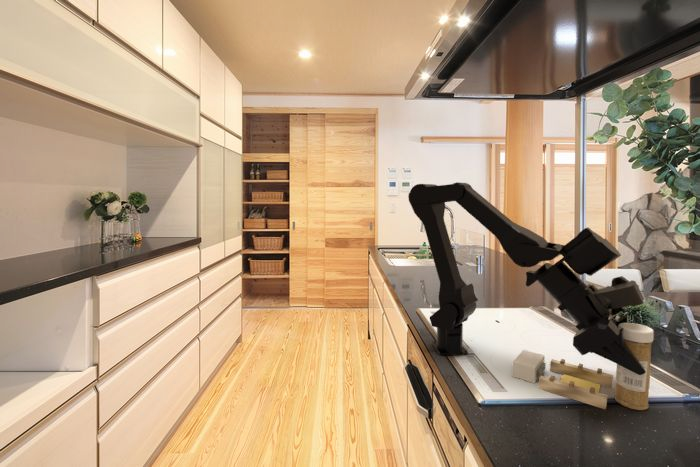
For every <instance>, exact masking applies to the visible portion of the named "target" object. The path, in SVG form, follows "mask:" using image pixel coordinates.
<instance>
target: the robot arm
mask: <svg viewBox="0 0 700 467" xmlns="http://www.w3.org/2000/svg"><path fill="white" fill-rule="evenodd" d="M407 197H408V202H409V204H410V206H411V209H412V211H413V213H414V215H415V216H416V217H417V218H418V219H419V220H420V221H421V223H422V225H423V228H424V231H425V234H426V239H427V241H428V245H429V247H430V252H431V255H432V259H433V263H434V267H435V268H436V273H437V277H438V280H439V291H438V304H439V306H438V307H439V309H438V310H436V311H435V312H434V313H433V314H432V315H430V316H429V321H430V324H431V327H434V328H436V341H432V342H431V343H432V346H433V347H434V349H435V350H436V351H437V353H438V355H439V356H452V355H451V354H459V355H468V354H469V351H468V350H467V349H466V347H464V346H463V339H464V338H463V330H464V328H463V326H464V325H463V324H464V322H467V321H468V318H469V317H470V316H471V315H473V314H474V313H475V311H476V309H477V302H478V301H479V299H478V298H477V296H476V294H475V290H474V285H473V283H468V284H467V283H466V282H465V281H464V280H463V278H462V276H461V273H460V271H459V267H458V264H457V260H456V256H455V253H454V249H453V246H452V241H451V240H450V236H449V233H448V229H447V226H446V222H445V219H444V218H445V211H446V203H448V202H449V203H451V202H456V203H457V204H458V205H459V206H460V207H461V208H463V209H464V210H465V211H466V212H467V213H468V214H469V215H470V216H472V217H473V218H474V219H475V220H476V221H478V222H479V224H481V225H482V226H483V227H484V228H485V229H486V230H488V232H490V233H491V235H492V234H493V236H494V237H495V238H496V239H497V240H498V243H500V246H501V247H502V249H503V251H504V252H505V253H506V255H507V256H508V257H509V258H510V259H511V261H512V262H513V263H514V264H515V265H517V266H518V267H521V268H532V267H535V266H536V265H538V264H540V263H542V262H545V263H544V264H542V265H541V266H540V267H538V268H537V269H535V270H528V271H526V272H525V276H526V279H525V280H526V281H525V286H526V287H530V286H532V285H533V284H535V283H536V282H537V283H538V284H540V286H541V287H542V288H543V289H544V290H545V291H546V292H547V294H549V295H550V296H551V297H552V299H554V300H555V301H556V302H557V304H558V306H557V308H558V309H559V311H560V312H564V311H565V312H566V313H567V314H568V315H569V316H570V317H571V318H572V319H573V320H574V321H575V322H576V323H577V324H576V325H575V329H577V331H576V332H575V334H574V336H573V339H572V346H573V347H574V348H575V349H576V351H578V353H579V354H580V355H581V356H584V355H587V354H592V353H593V354H595V355H597V356H599V357H602V358H604V359H606V360H608V361H610V362H612V363H615V364H616V365H617V364H618V365H620V366H622V367H624V368H626V369H628V370H630V371H632V372H634V373H636V374H638V375H642V374H644V373H646V371H645V369H644V368H643V366H642V365H641V364H640V362H639V361H638V360H637V358H636V357H635V356H634V354H633V353H632V352H631V350H630V349H629V348H628V346H627V345H626V344H625V343H624V340H623V337H624V328H622V329H620V330H619V329H618V325H619V324H621V323H629V314H628V313H626V314H624V315H622V316H619V313H620V312H622V313H625V312H627V311H628V309H629V307H630V306H631V307H636V306H637V307H638V306H641V305H642V304H644V300H645V297H644V295H643V293H642V292H641V290H640V286H639V285H638V284H637V281H635V280H633V279H632V280H628V279H627V278H625V277H624V276H623V275H621V276H617V277H613V278H612V279H611V285H610V286H609V285H607V286H606V287H604V288H603V287H602V288H600V289H599V288H597V287H596V286H595V285H594V284H590V283H589V284H586V283H585V282H584V281H583V279H581V278H580V277H579V276H581V275H584V274H586V276H589V277H592V276H593V275H594V274H595V275H596V274H597V272H599V271H601V270H602V269H604V268H605V267H606V266H608V265H609V264H611V263H612V262H614V261H615V260H617V259H618V258H620V257H621V256H622V255H621V253H620V252H619V250H618V249H617V248H616V247H615V246H614V245H613V244H612V243H611V242H610V241H609V240H608V239H606V238H604V237H602V236H601V235H600V234H598V233H596V232H595V231H593V229H591V228H590V227H586V228H583V229H582V230H580V232H579V233H578V234H577V235H576V236H575V237H573V238H572V239H571V240H569V241H568V242H567V243H566V244H560V243H554V242H550V241H547V240H546V239H545V238H544V237H543V236H541V235H539V234H537V233H535V232H534V231H532V230H531V229H529V228H526V227H524V226H521V225H519V224H518V223H516V222H514V221H512V219H510V218H509V217H507V216H506V215H505V214H504V213H503V212H502V211H500V210H499V209H498V208H497V207H496V206H494V204H492V203H491V202H489V200H487V199H486V198H485V197H483V196H482V195H481V194H480V193H479V192H478V191H476V190H475V189H474V188H473V187H472V186H471V184H469V183H468V182H458V181H457V182H453V183H450V184H442V185H437V184H433V183H431V184H430V183H418V184H415V185H414V186H412V187H411V188H410V191H409V193H408V196H407ZM559 256H562V258H561V259H559V260H558V261H556V262H554V264H552V263H549V262H550V261H552V260H554V259H556V258H558V257H559ZM578 275H579V276H578Z"/></svg>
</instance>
